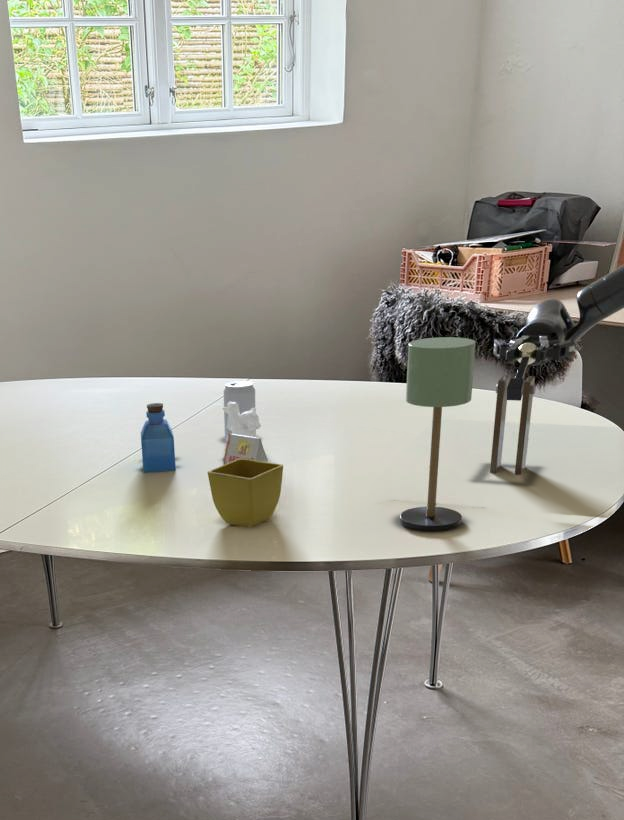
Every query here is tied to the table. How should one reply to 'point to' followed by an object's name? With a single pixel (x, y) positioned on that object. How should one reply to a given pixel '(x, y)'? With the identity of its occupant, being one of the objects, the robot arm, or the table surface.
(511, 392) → the lamp switch
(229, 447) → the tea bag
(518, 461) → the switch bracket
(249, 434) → the white animal figurine
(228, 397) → the beverage can
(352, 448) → the table surface
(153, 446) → the blue corked bottle
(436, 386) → the desk lamp
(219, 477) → the flower pot
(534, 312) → the robot arm
